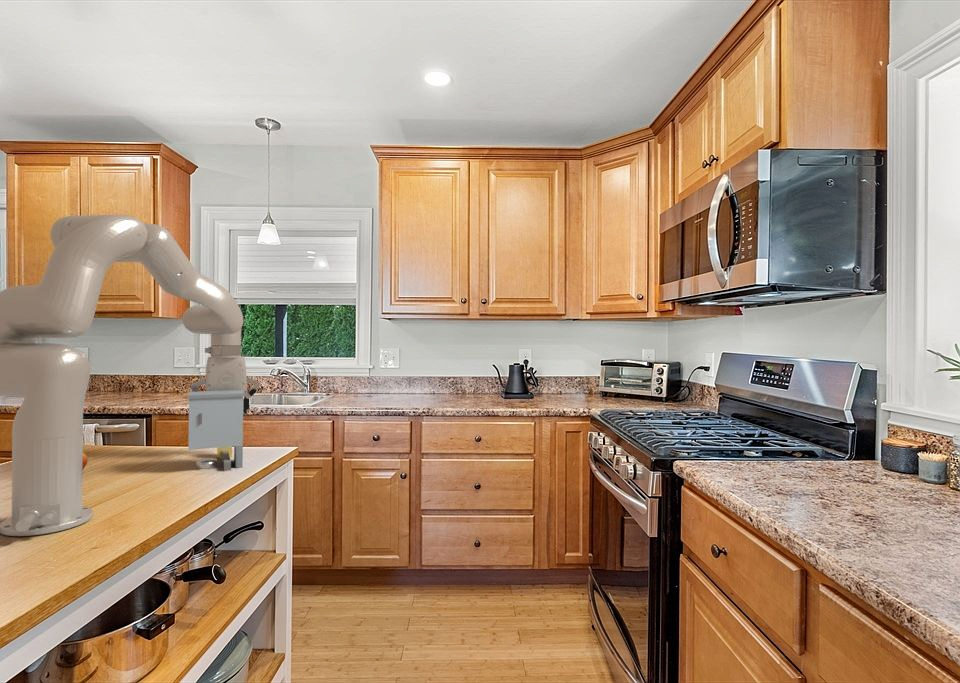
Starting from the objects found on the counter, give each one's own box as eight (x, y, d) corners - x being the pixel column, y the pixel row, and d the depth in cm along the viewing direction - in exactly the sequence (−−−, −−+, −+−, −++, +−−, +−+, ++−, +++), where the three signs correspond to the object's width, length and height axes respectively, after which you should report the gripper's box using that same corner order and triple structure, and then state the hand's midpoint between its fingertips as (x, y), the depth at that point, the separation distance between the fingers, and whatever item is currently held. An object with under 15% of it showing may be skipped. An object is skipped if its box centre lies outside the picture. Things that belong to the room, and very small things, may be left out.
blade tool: (235, 470, 129) (235, 441, 129) (219, 471, 127) (219, 443, 127) (231, 454, 145) (231, 429, 145) (217, 455, 144) (217, 430, 144)
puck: (216, 469, 130) (216, 461, 130) (196, 471, 128) (196, 462, 128) (216, 465, 134) (216, 457, 134) (196, 466, 132) (196, 459, 132)
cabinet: (243, 467, 131) (244, 393, 131) (186, 473, 125) (187, 395, 125) (241, 460, 139) (242, 390, 139) (187, 465, 133) (188, 391, 133)
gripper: (189, 353, 135) (190, 418, 136) (261, 352, 144) (261, 413, 144) (190, 351, 142) (190, 413, 142) (258, 351, 150) (258, 409, 151)
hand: (226, 413), depth 143 cm, fingers open, 9 cm apart
